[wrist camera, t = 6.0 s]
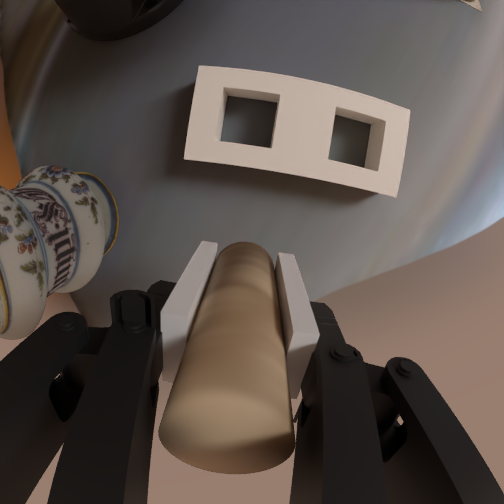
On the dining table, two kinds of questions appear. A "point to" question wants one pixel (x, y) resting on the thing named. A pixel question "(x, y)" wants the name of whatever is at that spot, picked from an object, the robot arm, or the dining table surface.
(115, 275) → the dining table surface
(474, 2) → the condiment
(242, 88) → the hole block
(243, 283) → the dowel
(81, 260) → the apothecary jar
